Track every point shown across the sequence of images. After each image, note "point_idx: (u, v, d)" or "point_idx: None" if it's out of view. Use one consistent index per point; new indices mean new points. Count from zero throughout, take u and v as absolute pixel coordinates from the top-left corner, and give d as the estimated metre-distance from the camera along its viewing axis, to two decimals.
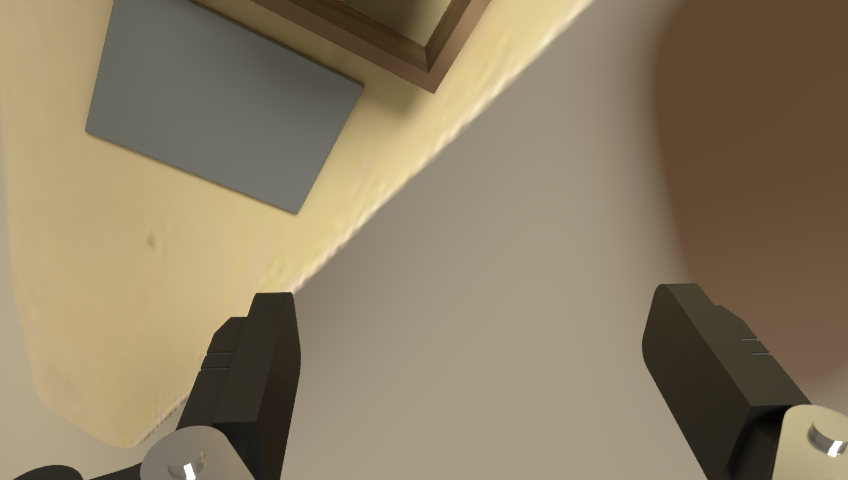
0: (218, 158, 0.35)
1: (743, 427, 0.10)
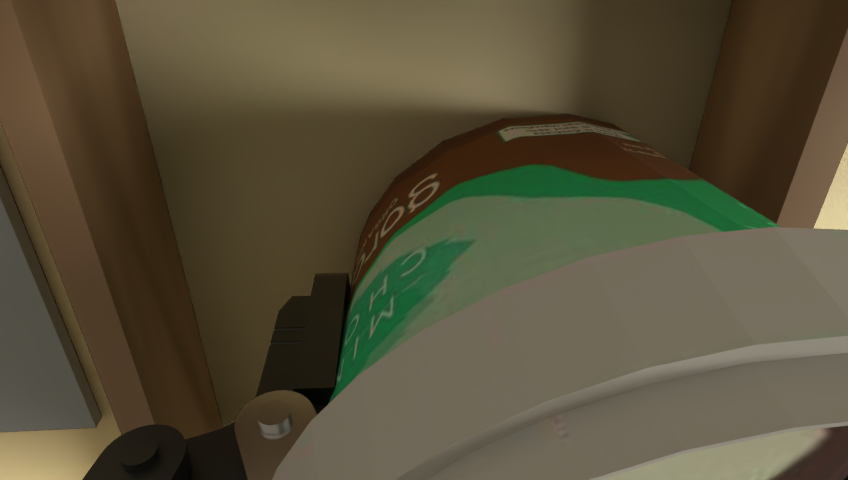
0: None
1: None
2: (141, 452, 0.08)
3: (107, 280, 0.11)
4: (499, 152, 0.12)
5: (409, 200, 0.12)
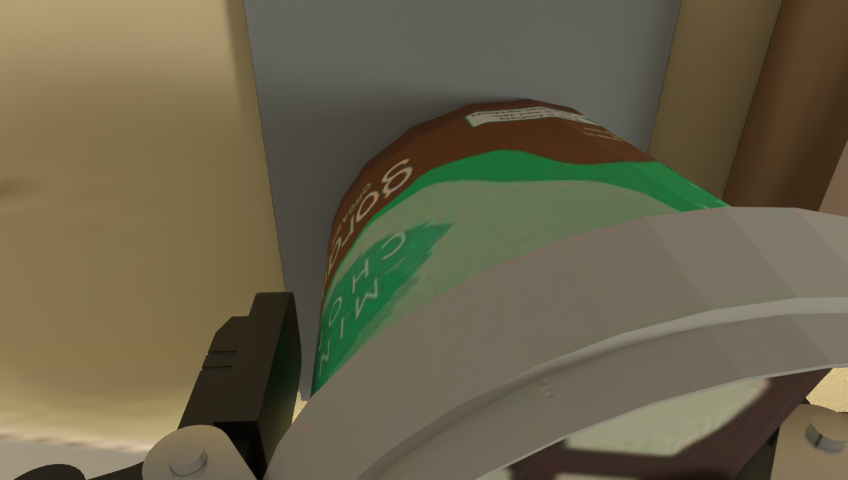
0: None
1: None
2: None
3: None
4: (469, 138, 0.12)
5: (383, 185, 0.13)
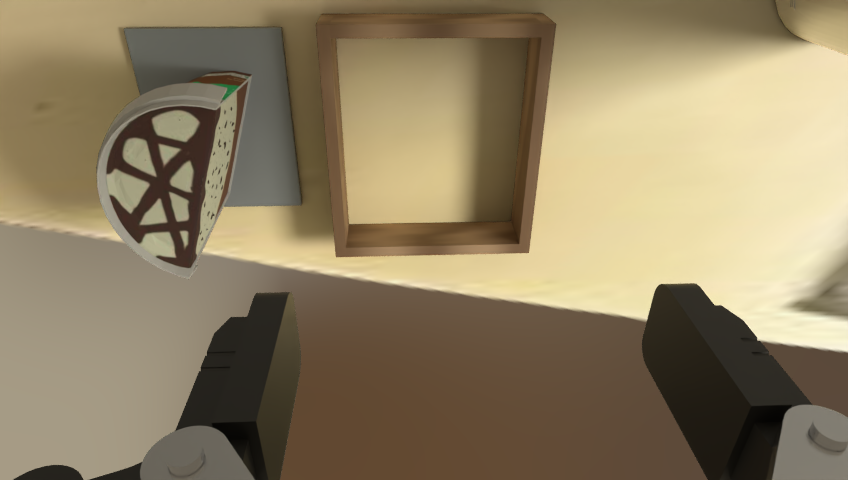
0: None
1: (743, 427, 0.10)
2: None
3: (336, 127, 0.38)
4: (195, 80, 0.37)
5: None
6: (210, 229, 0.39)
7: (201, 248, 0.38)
